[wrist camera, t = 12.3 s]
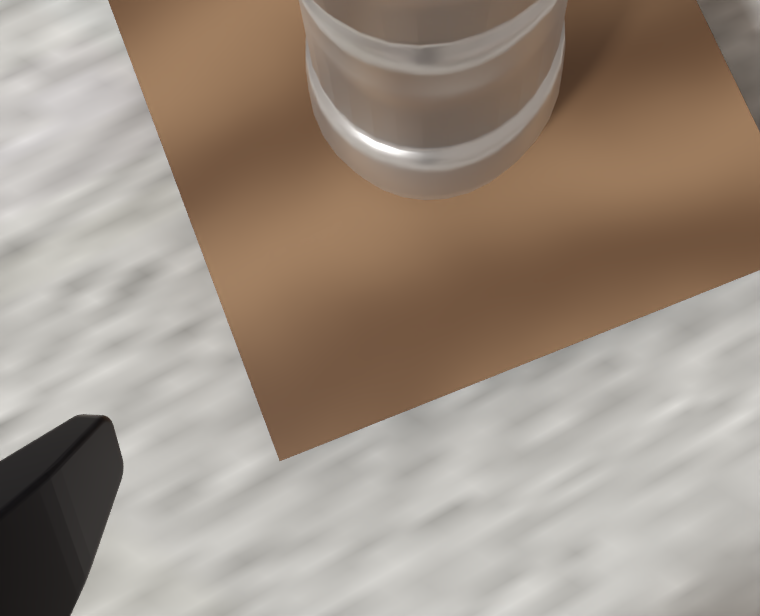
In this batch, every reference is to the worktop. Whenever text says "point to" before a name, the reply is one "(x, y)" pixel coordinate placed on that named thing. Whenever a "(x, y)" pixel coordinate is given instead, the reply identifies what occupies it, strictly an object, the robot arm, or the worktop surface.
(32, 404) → the worktop surface
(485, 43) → the plastic bottle
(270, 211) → the shelf board
